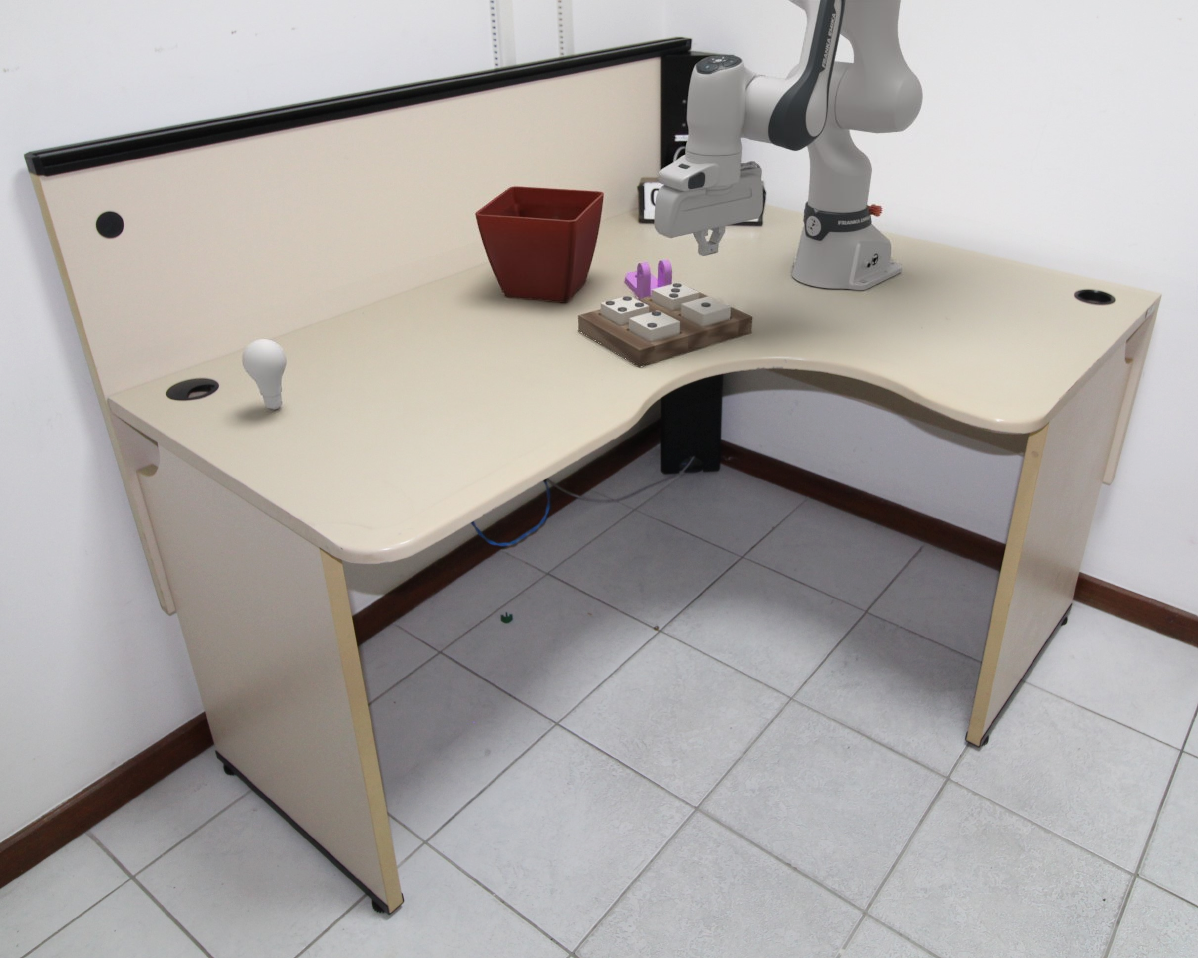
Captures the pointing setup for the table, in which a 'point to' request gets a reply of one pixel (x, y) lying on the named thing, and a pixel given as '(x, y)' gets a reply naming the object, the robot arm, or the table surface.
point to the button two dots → (654, 326)
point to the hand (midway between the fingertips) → (707, 254)
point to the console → (665, 348)
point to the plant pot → (541, 240)
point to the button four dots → (623, 309)
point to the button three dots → (673, 296)
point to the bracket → (649, 278)
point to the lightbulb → (266, 369)
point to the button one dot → (705, 311)
